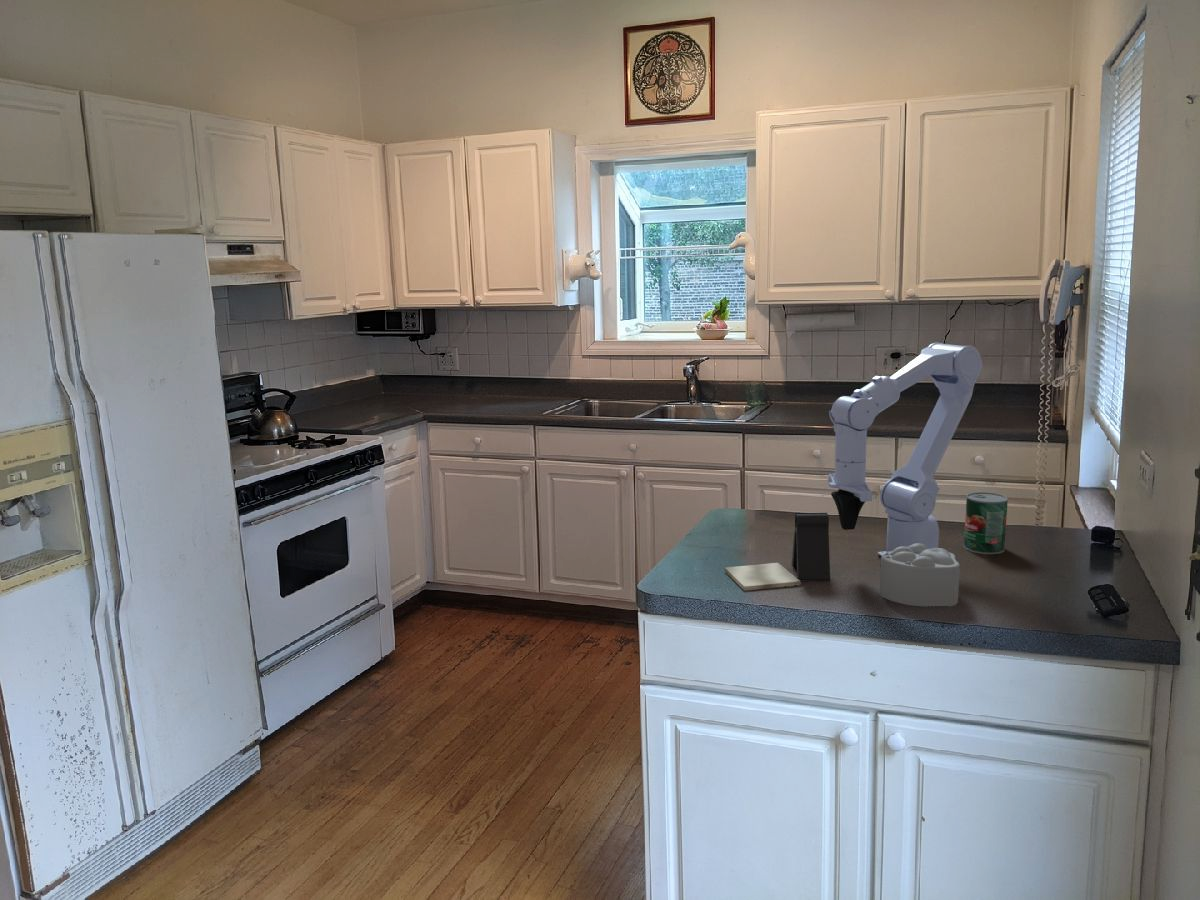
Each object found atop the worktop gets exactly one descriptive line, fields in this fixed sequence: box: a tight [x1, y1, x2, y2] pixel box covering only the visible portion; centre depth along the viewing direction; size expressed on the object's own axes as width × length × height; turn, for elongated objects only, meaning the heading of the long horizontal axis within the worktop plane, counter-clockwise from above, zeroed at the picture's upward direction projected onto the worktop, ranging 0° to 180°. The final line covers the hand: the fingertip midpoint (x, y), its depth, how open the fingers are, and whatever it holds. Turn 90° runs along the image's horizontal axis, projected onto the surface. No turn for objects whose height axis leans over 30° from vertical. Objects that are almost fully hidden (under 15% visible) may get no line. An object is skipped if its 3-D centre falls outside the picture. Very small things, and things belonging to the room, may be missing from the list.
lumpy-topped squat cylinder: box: [879, 543, 961, 608], centre depth 167 cm, size 10×13×9 cm
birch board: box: [724, 562, 801, 592], centre depth 179 cm, size 11×11×1 cm
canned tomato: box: [963, 491, 1009, 555], centre depth 192 cm, size 8×8×11 cm
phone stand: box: [791, 512, 831, 582], centre depth 180 cm, size 9×6×12 cm, turn 176°
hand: (848, 528), depth 180 cm, fingers closed
